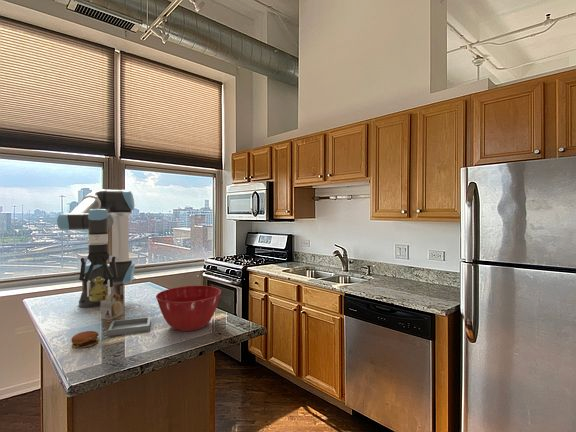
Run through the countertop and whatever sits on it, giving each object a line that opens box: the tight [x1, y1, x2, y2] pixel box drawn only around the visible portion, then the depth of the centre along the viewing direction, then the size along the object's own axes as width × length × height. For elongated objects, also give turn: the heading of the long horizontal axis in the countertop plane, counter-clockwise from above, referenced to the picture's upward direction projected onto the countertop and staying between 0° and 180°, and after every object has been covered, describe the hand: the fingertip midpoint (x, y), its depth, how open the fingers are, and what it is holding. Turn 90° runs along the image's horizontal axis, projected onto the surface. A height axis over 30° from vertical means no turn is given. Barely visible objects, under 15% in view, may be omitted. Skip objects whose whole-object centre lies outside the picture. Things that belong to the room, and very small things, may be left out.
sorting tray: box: [107, 316, 151, 337], centre depth 150 cm, size 13×16×2 cm
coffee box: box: [100, 283, 125, 321], centre depth 167 cm, size 9×6×16 cm
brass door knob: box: [89, 277, 108, 301], centre depth 149 cm, size 7×7×10 cm
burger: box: [71, 330, 100, 349], centre depth 133 cm, size 10×9×5 cm
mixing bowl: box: [155, 285, 222, 332], centre depth 153 cm, size 28×28×16 cm
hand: (99, 295), depth 149 cm, fingers closed on brass door knob, 7 cm apart
